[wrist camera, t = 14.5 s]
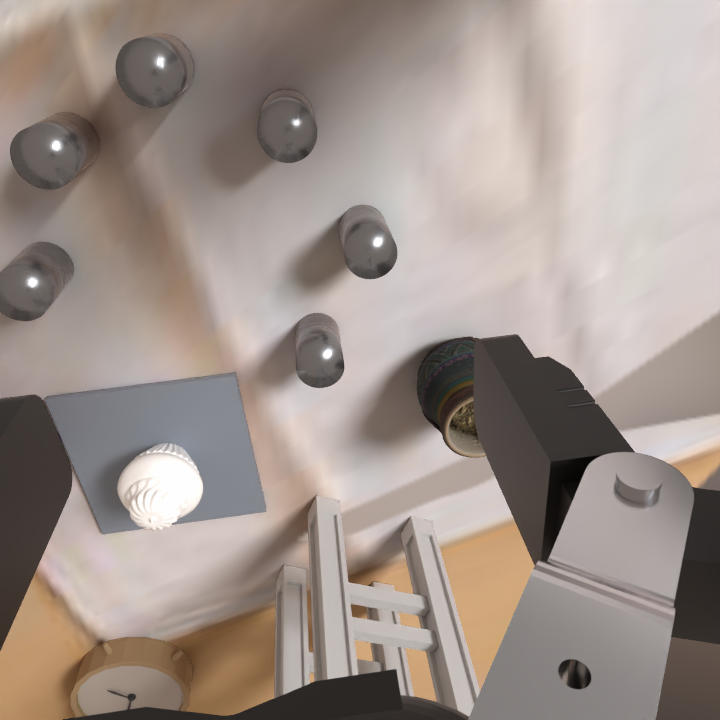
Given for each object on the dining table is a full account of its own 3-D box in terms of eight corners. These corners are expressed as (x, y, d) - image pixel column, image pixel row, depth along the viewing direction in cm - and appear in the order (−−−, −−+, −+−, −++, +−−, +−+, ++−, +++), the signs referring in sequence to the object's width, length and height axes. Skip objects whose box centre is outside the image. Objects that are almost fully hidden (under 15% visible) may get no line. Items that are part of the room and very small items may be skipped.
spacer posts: (371, 12, 35) (383, 13, 30) (393, 342, 46) (404, 377, 41) (-62, 55, 33) (-113, 63, 29) (69, 383, 45) (45, 423, 40)
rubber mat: (235, 372, 46) (235, 376, 45) (266, 507, 53) (265, 511, 52) (47, 396, 45) (44, 400, 45) (104, 530, 52) (102, 534, 52)
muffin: (136, 489, 50) (115, 556, 44) (120, 430, 47) (96, 493, 41) (212, 484, 50) (202, 549, 44) (202, 424, 47) (190, 486, 41)
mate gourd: (428, 315, 45) (461, 388, 36) (518, 336, 47) (570, 411, 38) (397, 394, 48) (420, 478, 40) (482, 411, 50) (523, 495, 41)
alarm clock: (201, 666, 59) (169, 775, 63) (205, 627, 63) (174, 732, 68) (78, 653, 56) (54, 768, 60) (92, 614, 60) (68, 723, 65)
